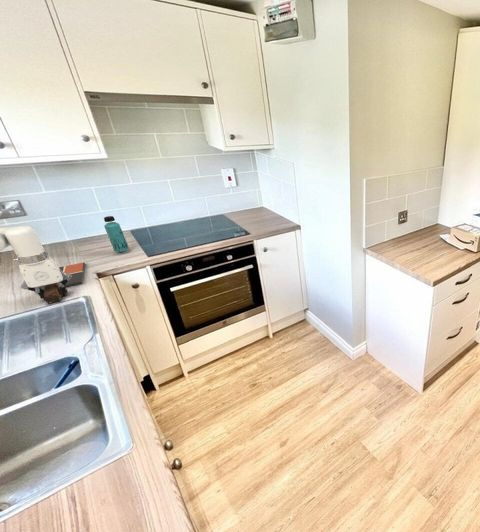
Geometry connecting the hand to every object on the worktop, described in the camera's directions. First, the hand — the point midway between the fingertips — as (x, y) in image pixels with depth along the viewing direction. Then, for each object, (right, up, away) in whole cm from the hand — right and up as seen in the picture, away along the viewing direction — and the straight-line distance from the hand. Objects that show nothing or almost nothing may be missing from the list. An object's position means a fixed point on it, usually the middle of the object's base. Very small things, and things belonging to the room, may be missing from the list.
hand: (55, 296), depth 134 cm
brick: (0, -1, 0) cm, 1 cm away
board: (-12, +7, +15) cm, 20 cm away
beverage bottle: (-6, +20, +40) cm, 45 cm away
